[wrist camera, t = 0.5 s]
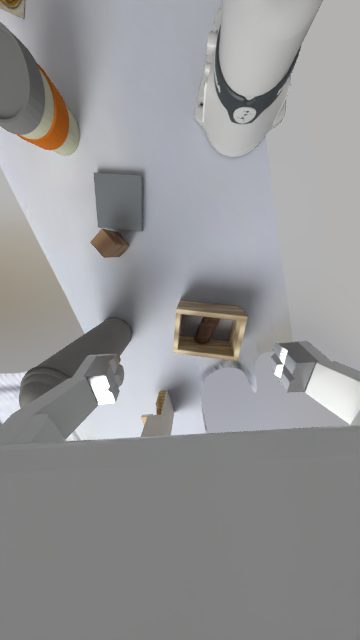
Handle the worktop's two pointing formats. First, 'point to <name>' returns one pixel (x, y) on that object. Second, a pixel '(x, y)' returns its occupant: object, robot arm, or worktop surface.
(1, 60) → the reusable coffee cup
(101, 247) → the walnut block
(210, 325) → the brown rounded bar
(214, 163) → the worktop surface
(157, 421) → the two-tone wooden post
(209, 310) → the bamboo organizer
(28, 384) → the canister
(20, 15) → the condiment
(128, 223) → the slate coaster
